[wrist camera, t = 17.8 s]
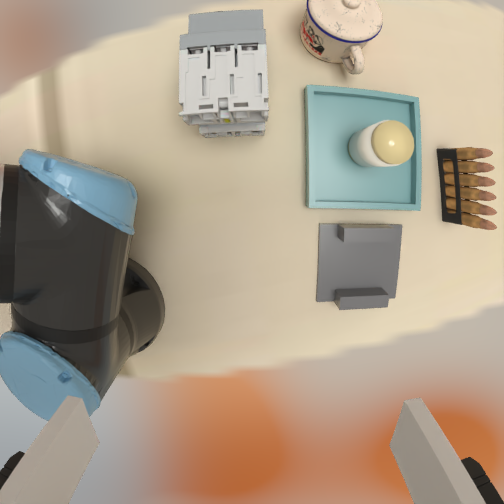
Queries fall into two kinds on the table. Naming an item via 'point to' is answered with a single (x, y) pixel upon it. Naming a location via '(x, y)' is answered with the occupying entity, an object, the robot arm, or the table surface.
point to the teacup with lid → (340, 30)
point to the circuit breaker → (224, 73)
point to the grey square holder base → (358, 264)
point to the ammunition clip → (465, 186)
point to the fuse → (381, 144)
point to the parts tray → (339, 161)
